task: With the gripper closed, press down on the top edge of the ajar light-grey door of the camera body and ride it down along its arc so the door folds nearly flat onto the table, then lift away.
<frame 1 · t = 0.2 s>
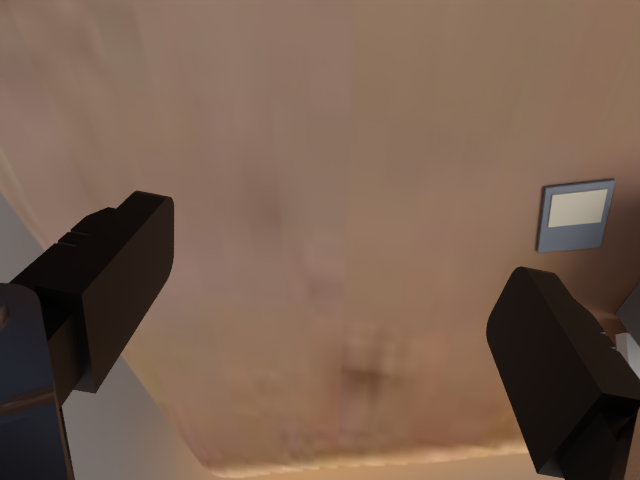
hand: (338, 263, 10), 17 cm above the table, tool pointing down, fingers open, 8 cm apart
memory card: (569, 212, 28), on the table
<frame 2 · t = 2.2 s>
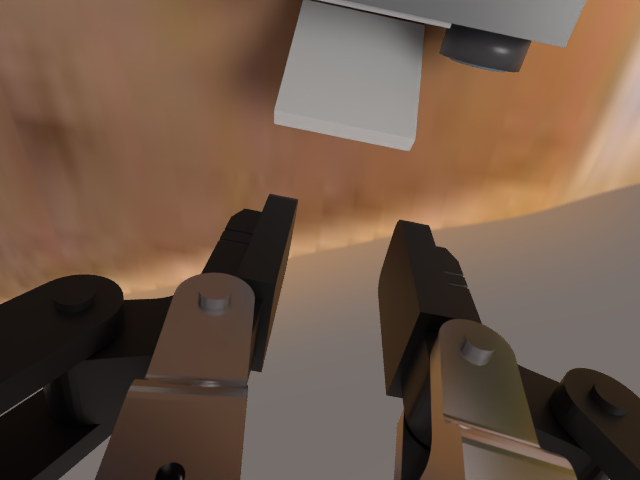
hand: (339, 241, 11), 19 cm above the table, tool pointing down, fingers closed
door: (353, 74, 23), point 4 cm above the table, hinge at 35.0°
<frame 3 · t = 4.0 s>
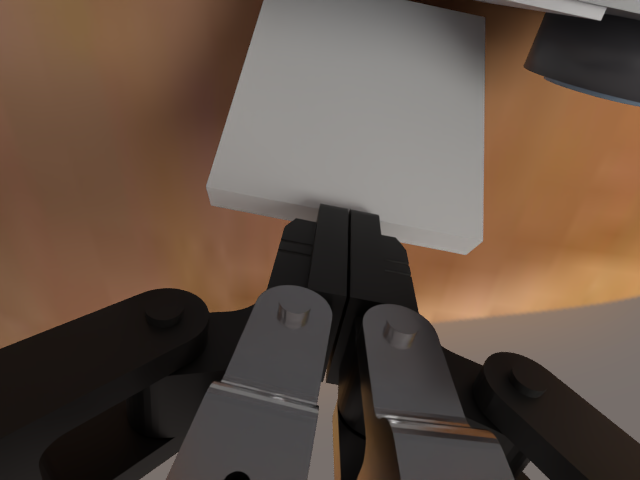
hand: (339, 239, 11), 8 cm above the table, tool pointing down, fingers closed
door: (360, 106, 13), point 4 cm above the table, hinge at 35.5°, touching gripper
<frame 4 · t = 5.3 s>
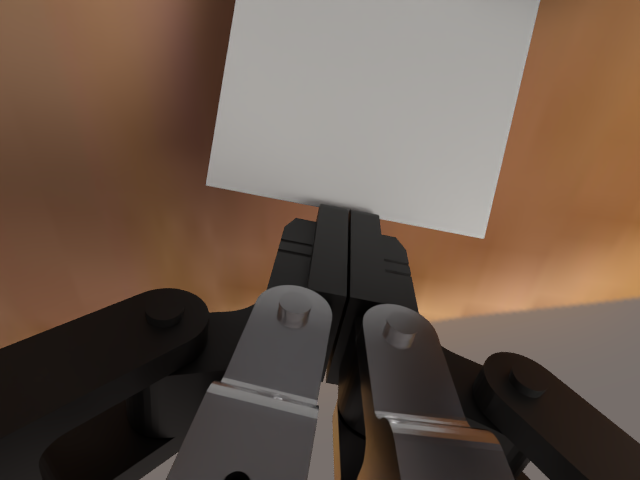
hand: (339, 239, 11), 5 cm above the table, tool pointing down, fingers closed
door: (375, 55, 11), point 3 cm above the table, hinge at 63.6°, touching gripper
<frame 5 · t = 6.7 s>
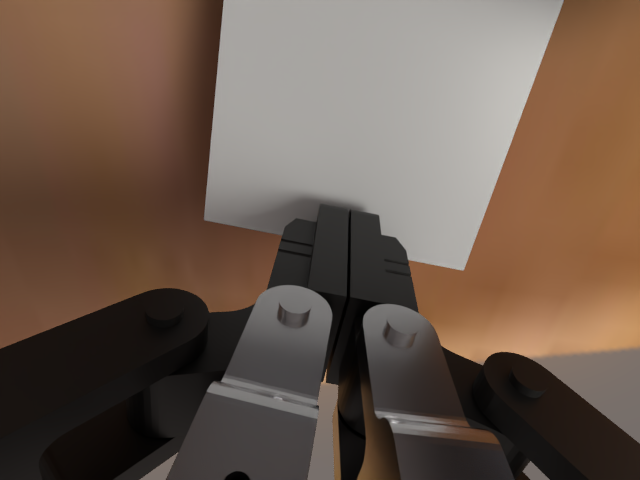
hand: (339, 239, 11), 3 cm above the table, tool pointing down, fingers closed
door: (369, 86, 10), point 1 cm above the table, hinge at 81.8°
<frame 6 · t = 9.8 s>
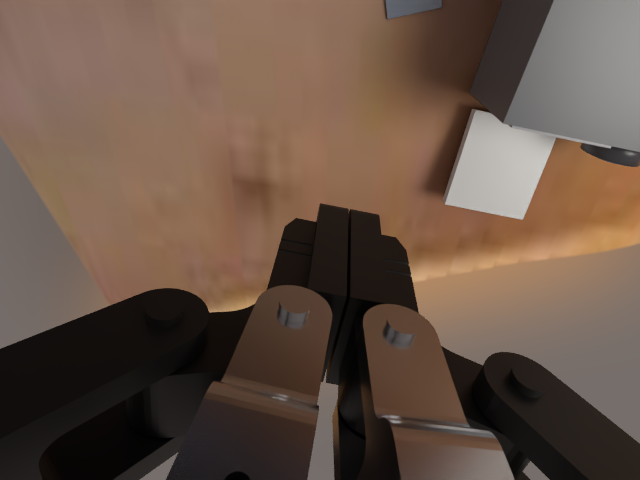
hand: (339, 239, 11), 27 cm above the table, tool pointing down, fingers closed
door: (497, 165, 36), point 1 cm above the table, hinge at 81.9°
camera body: (570, 41, 32), on the table
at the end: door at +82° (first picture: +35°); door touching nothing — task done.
